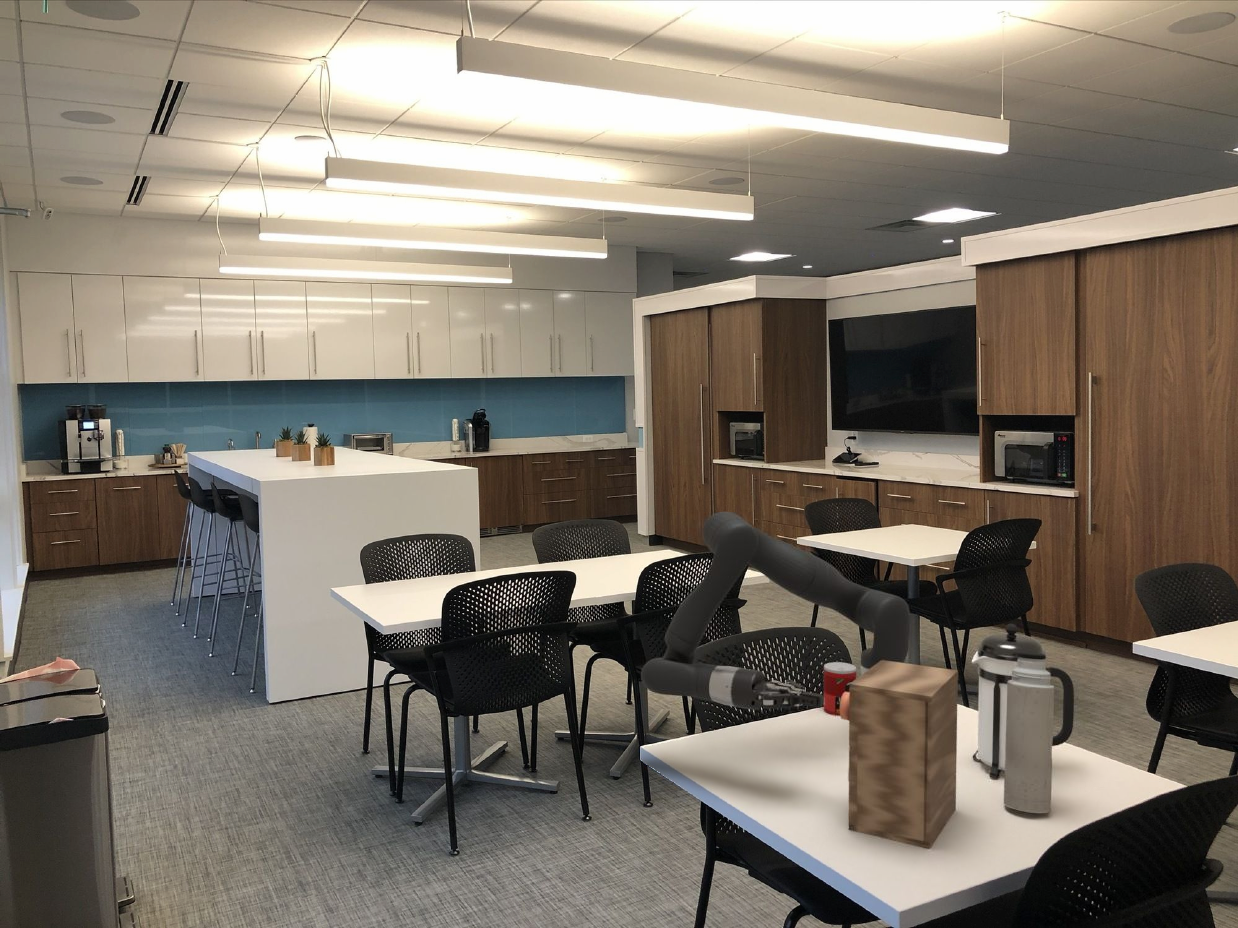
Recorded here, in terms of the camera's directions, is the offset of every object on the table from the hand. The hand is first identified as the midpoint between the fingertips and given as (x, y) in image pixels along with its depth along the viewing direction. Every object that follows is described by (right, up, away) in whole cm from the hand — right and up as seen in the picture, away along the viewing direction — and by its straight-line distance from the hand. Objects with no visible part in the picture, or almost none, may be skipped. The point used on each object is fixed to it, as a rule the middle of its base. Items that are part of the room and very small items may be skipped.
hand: (821, 701), depth 180 cm
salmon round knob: (+9, -3, -6) cm, 11 cm away
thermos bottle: (+37, -19, -4) cm, 41 cm away
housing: (+13, -20, -7) cm, 25 cm away
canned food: (+16, -16, +53) cm, 58 cm away
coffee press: (+43, -18, +16) cm, 49 cm away
